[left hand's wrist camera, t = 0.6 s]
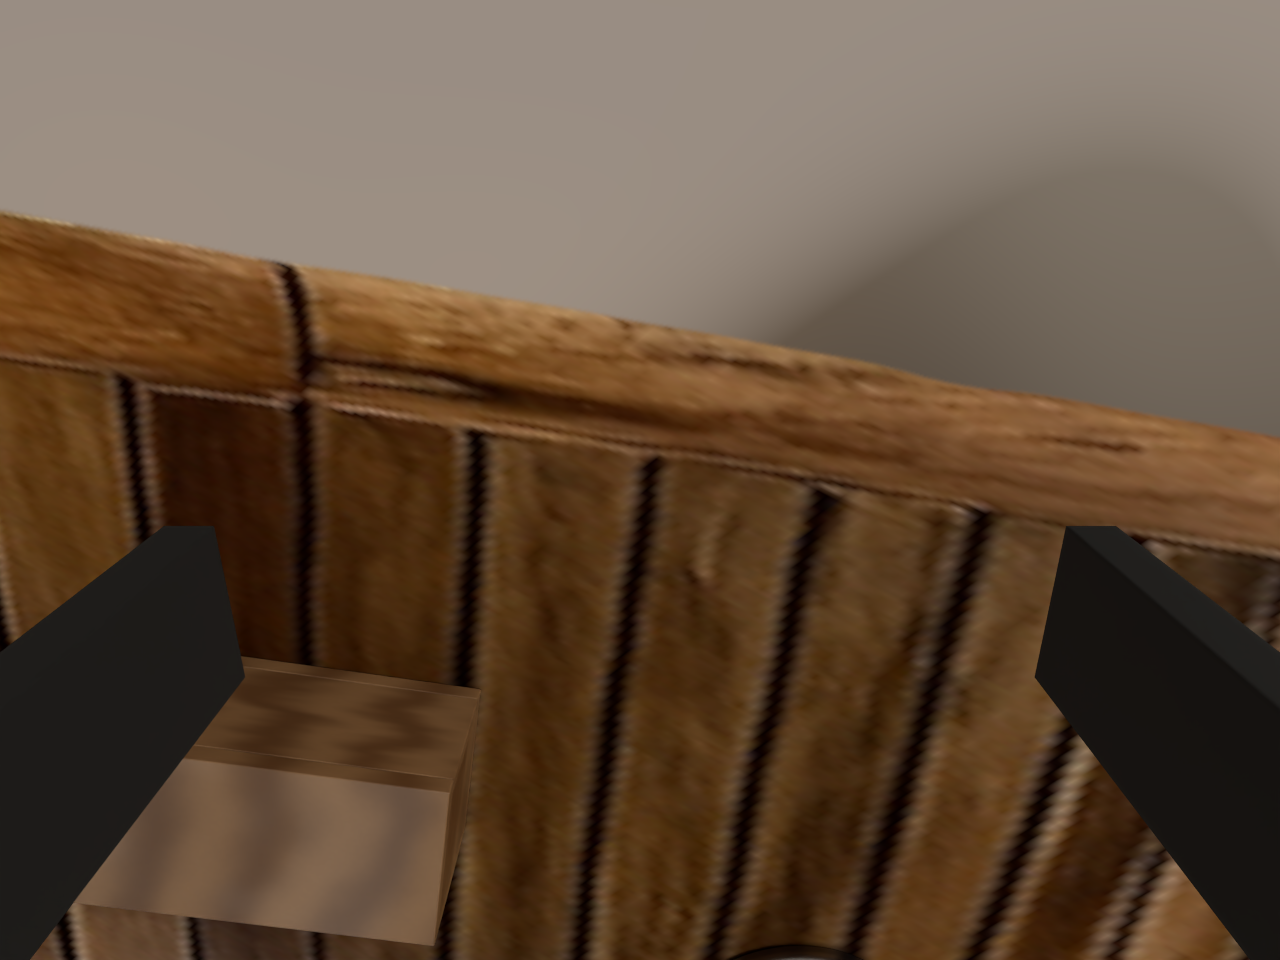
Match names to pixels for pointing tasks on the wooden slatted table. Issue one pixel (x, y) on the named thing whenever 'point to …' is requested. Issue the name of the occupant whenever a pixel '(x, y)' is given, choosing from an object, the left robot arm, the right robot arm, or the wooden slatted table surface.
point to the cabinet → (309, 808)
